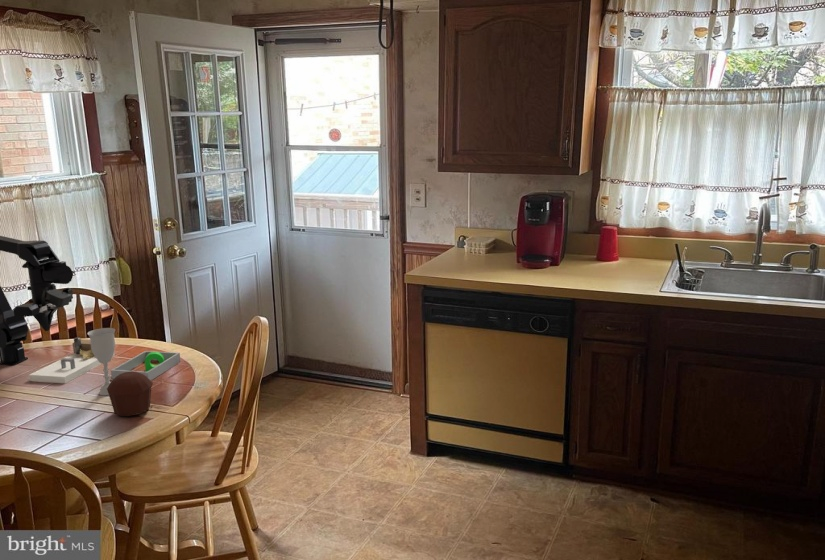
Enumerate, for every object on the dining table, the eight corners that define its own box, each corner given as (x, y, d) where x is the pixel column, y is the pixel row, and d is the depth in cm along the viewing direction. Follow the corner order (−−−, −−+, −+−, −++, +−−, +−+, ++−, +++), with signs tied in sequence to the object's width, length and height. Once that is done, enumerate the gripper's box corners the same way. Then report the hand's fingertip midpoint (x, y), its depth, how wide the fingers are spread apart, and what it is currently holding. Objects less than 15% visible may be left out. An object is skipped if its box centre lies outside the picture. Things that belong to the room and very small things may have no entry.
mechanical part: (144, 383, 206) (142, 358, 204) (147, 376, 211) (144, 352, 210) (186, 379, 209) (184, 354, 207) (187, 373, 214) (185, 348, 213)
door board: (29, 381, 202) (27, 363, 201) (82, 355, 225) (80, 339, 224) (65, 383, 200) (63, 365, 199) (114, 356, 223) (113, 341, 222)
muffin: (107, 406, 183) (103, 371, 181) (150, 397, 189) (147, 363, 186) (112, 421, 173) (108, 385, 171) (157, 412, 178) (154, 376, 176)
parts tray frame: (111, 379, 202) (110, 370, 202) (146, 359, 220) (145, 350, 219) (148, 382, 200) (147, 372, 200) (180, 361, 218) (179, 352, 217)
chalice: (116, 385, 198) (110, 326, 194) (126, 391, 193) (119, 331, 189) (90, 392, 193) (83, 331, 189) (99, 398, 188) (92, 336, 184)
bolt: (70, 357, 216) (68, 341, 214) (90, 347, 225) (88, 331, 224) (87, 358, 214) (85, 341, 213) (107, 348, 224) (105, 332, 223)
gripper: (41, 290, 198) (48, 341, 201) (83, 276, 215) (89, 323, 219) (8, 288, 200) (16, 339, 203) (52, 275, 218) (59, 322, 221)
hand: (47, 330), depth 211 cm, fingers closed
